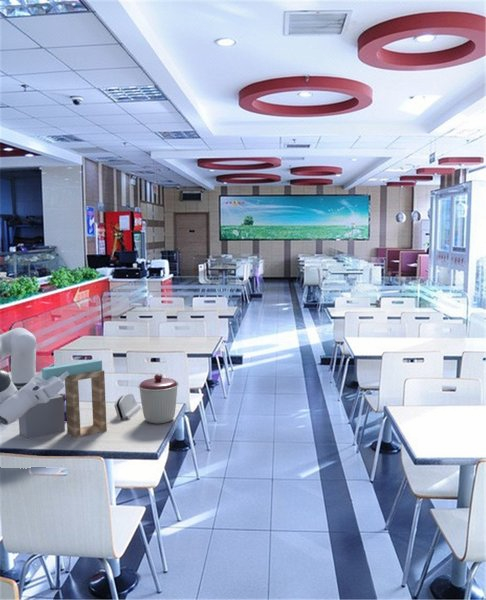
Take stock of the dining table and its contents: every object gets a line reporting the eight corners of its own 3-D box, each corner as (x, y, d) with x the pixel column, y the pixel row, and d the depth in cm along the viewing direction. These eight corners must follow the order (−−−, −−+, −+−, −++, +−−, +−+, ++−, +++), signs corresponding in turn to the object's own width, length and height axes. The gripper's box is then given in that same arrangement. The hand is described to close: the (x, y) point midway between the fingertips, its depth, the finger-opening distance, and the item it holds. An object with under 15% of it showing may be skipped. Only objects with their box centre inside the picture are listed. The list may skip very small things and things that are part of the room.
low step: (26, 439, 225) (24, 404, 223) (19, 434, 232) (17, 399, 230) (65, 430, 235) (63, 396, 233) (56, 425, 242) (55, 392, 240)
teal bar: (45, 379, 218) (45, 369, 218) (42, 377, 221) (41, 368, 221) (102, 369, 233) (101, 360, 233) (98, 368, 236) (97, 359, 236)
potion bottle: (71, 416, 254) (70, 390, 253) (73, 421, 246) (72, 395, 245) (52, 418, 251) (50, 392, 250) (53, 424, 243) (52, 398, 242)
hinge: (128, 420, 248) (121, 399, 247) (119, 423, 249) (111, 402, 248) (141, 408, 264) (134, 389, 264) (132, 411, 265) (125, 392, 265)
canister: (177, 426, 239) (176, 379, 236) (135, 427, 238) (134, 379, 236) (181, 413, 257) (180, 369, 254) (142, 413, 256) (141, 369, 254)
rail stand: (75, 438, 226) (72, 376, 223) (67, 433, 232) (64, 372, 229) (106, 430, 235) (104, 370, 232) (98, 425, 241) (95, 367, 238)
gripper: (29, 392, 227) (57, 371, 234) (48, 403, 211) (77, 380, 218) (21, 381, 224) (49, 360, 231) (39, 391, 209) (69, 368, 215)
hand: (63, 370), depth 224 cm, fingers open, 8 cm apart
